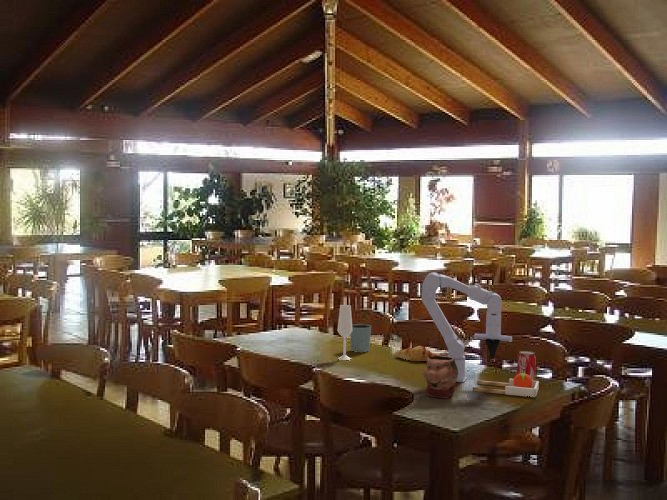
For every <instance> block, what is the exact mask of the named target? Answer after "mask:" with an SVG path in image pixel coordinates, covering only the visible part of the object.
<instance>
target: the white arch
mask: <svg viewBox="0 0 667 500" xmlns="http://www.w3.org/2000/svg"><path fill="white" fill-rule="evenodd" d="M513 380H514V378H509V379H508V383H509V386H504V390H505V394H504V395H508V396H520V397H527V396H528V398H537V395H538V392H539V387H540V385H539V384H540V381H539V380H535V381H532V386H531V388H523V387H515V386H514V384H513ZM529 396H530V397H529Z"/></svg>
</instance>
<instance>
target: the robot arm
mask: <svg viewBox="0 0 667 500" xmlns="http://www.w3.org/2000/svg"><path fill="white" fill-rule="evenodd" d="M421 285H422V286H421V287H422V291H421V301H422V304H423V305H424V307H425V308H426V310H427V312H428V314H429V315H430V317H431V319H432V320H433V322H434V324H435V326H436V327H437V329H438V331H439V332H440V334H441V336H442V338H443V340H444V343H445V345H446V347H447V353H448V354H446V355H447V356H446V357H452V358H454V360H455V363H456V366H457V368H458V377H457V380H456V382H457V383H465V381H466V380H467V379H468V377H467V376H466V373H465V372H466V356H465V355H464V354H465V343H464V341H463V340H461V339H460V338H459V337H458V336H457V334H456V332H455V331H454V330H453V328H452V327H451V326H452V325H450V323H449V321H448V319H447V318H446V316H445V314H444V312H443V311H442V309H441V307H440V306H439V304H438V302H437V300H436V298H435V297H436V293H437V290H438V289H439V287H440V288H442V289H443V288H451V289H453V290H455V291H456V290H457V291H459V292H461V293H464V294H466V295H467V296H468V298H469V299H470V300H471V301H474V302H476V303H479V304H481V305H486V306H487V308H486V309H487V311H486V316H485V317H486V320H485V333H474V335H473V339H474V340H485V345H486V347H487V350H488V352H489V357H490V360H494V359H495V356H496V353H497V349H498V347H499V345H500V343H501V342H509V343H512V342H513V336H512V335H503V334H502V332H501V331H502V312H501V311H502V306H503V301H502V300H503V299H502V297H501V296H500V295H499V294H498V293H497V292H493V290H487V289H486V288H485V289H484V288H483V287H482V286H481V285H480V284H478V285H475V284H474V285H472V286H469V285H468V284H465V283H463V282H461V281H459V280H457V279H455V278H452V277H451V276H448V275H446V274H445V275H444V274H440V273H438V272H436V271H435V272H434V271H432V272H430V273H428V274H427V275H426V276H425V278H424V280H423V282H422V284H421Z"/></svg>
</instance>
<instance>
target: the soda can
mask: <svg viewBox="0 0 667 500" xmlns="http://www.w3.org/2000/svg"><path fill="white" fill-rule="evenodd" d="M516 364H517V365H516V375H517V374H519V373H525V374H528V375H529V376H530V377H531V379H532V381H536V366H537V357H536V355H535V351H534V352H533V351H527V350H522V351H521V350H520V351H519V352H518V355H517V363H516Z"/></svg>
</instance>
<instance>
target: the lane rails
mask: <svg viewBox="0 0 667 500" xmlns="http://www.w3.org/2000/svg"><path fill="white" fill-rule="evenodd" d="M476 384H478V385H484V386H485V385H486V386H494V387H495V386H497V387H498V386H499V387H505V386H509V382H501V381H500V382H499V381H490V380H489V381H487V380H480V379H479V380H477V382H476ZM472 392H477V393H478V392H479V393H487V394H488V393H492V394H500V395H506V394H505V389H495V388H487V387H486V388H485V387H474V386H473V387H472Z"/></svg>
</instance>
